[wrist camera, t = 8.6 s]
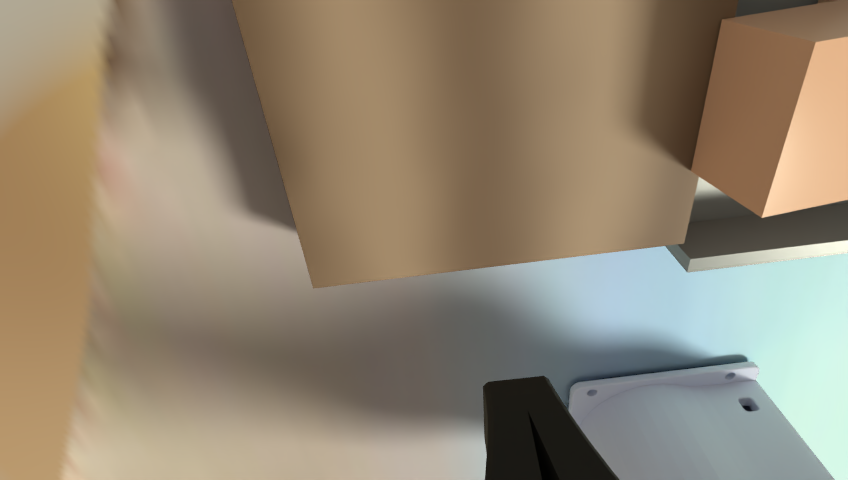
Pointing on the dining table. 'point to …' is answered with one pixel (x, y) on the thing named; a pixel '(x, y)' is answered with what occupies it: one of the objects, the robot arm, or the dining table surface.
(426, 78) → the board
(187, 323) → the dining table surface
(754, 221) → the tray
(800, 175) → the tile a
